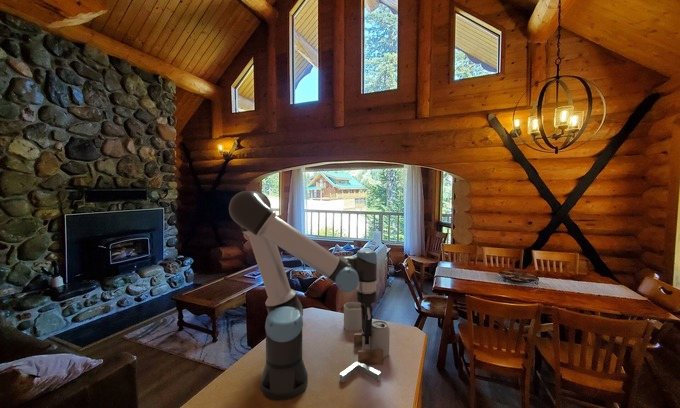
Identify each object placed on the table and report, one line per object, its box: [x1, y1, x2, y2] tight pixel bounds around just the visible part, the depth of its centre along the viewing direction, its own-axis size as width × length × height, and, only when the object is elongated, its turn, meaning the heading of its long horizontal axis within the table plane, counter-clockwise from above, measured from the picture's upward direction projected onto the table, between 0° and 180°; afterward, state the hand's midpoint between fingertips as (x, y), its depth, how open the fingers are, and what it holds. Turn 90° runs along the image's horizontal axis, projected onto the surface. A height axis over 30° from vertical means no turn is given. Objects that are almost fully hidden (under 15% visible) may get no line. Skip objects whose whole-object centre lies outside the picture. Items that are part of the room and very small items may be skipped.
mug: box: [343, 301, 362, 332], centre depth 132 cm, size 11×10×10 cm
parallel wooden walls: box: [353, 332, 384, 366], centre depth 110 cm, size 9×13×5 cm
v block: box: [339, 361, 382, 384], centre depth 98 cm, size 14×8×2 cm, turn 94°
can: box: [370, 320, 391, 359], centre depth 110 cm, size 8×8×12 cm
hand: (366, 350), depth 110 cm, fingers closed
